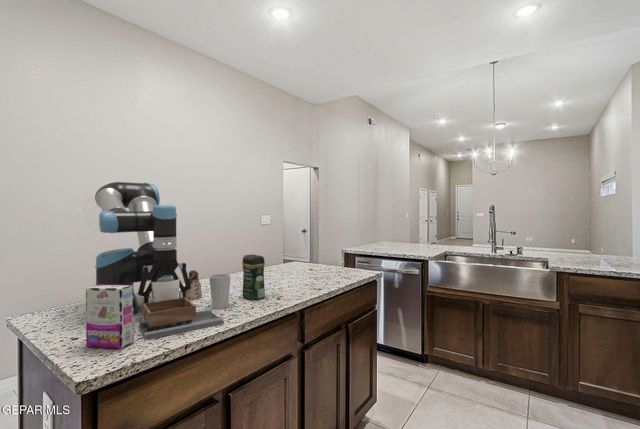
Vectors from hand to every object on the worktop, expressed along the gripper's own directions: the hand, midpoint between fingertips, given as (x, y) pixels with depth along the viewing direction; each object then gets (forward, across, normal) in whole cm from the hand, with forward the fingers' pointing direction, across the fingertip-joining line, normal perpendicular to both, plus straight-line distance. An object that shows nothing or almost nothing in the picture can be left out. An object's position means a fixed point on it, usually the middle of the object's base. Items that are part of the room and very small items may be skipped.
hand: (165, 312), depth 116 cm
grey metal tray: (+2, +2, -12) cm, 13 cm away
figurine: (+2, +15, +22) cm, 26 cm away
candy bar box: (+2, -17, -17) cm, 25 cm away
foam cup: (+2, 0, 0) cm, 2 cm away
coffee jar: (+2, +36, +6) cm, 36 cm away
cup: (+2, +20, +2) cm, 20 cm away
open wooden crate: (-1, -1, -13) cm, 13 cm away
